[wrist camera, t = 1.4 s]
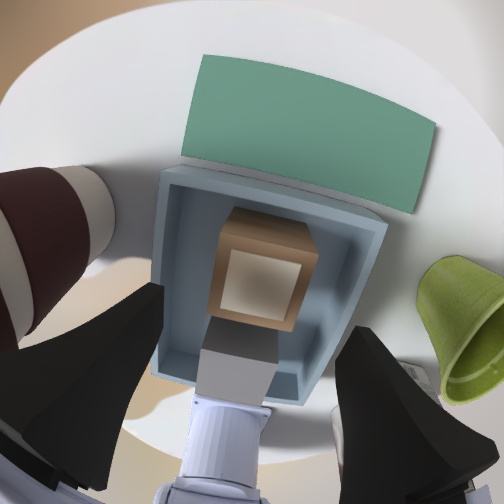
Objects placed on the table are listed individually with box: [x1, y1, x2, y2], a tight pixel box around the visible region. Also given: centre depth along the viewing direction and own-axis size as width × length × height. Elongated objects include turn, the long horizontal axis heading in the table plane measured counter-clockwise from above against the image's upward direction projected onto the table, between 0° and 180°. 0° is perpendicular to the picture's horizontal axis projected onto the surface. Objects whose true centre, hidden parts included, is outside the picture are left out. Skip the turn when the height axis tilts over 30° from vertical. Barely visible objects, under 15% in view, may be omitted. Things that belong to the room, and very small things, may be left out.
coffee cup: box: [0, 166, 115, 354], centre depth 11 cm, size 10×10×15 cm
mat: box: [181, 54, 436, 214], centre depth 15 cm, size 6×15×1 cm, turn 78°
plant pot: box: [416, 255, 504, 405], centre depth 15 cm, size 9×9×9 cm
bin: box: [150, 165, 389, 406], centre depth 18 cm, size 15×12×4 cm
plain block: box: [195, 315, 279, 407], centre depth 18 cm, size 4×4×5 cm
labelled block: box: [206, 206, 319, 332], centre depth 15 cm, size 4×4×5 cm
